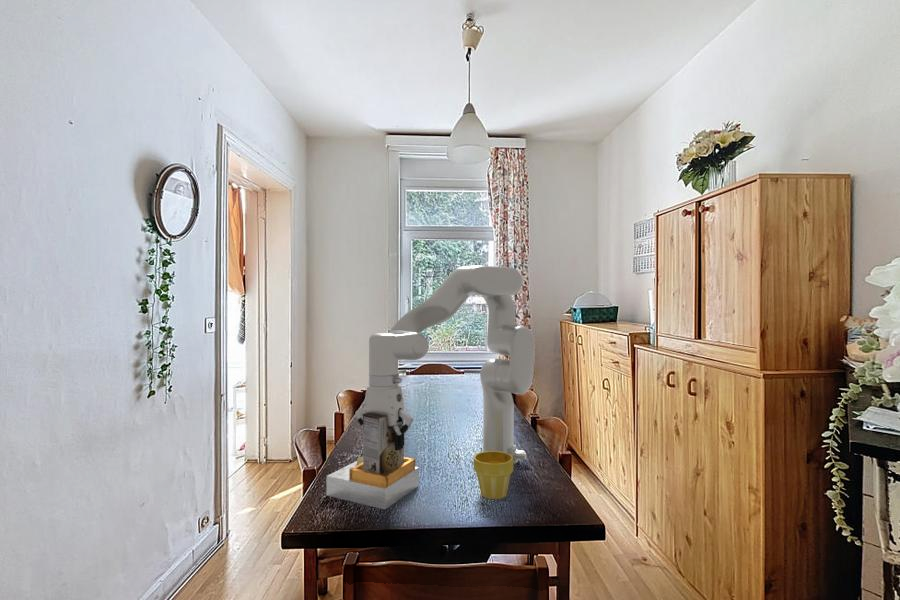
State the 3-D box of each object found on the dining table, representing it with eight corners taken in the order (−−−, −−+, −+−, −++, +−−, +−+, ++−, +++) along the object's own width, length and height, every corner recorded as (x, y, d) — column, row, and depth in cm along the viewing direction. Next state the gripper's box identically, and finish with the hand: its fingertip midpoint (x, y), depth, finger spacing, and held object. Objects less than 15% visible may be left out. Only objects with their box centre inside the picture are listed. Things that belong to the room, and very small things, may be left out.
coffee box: (387, 465, 129) (387, 406, 129) (404, 471, 125) (404, 410, 125) (361, 475, 122) (361, 413, 122) (379, 481, 118) (379, 417, 118)
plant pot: (465, 494, 123) (465, 456, 123) (491, 483, 130) (491, 447, 130) (495, 506, 116) (496, 466, 115) (521, 494, 123) (521, 456, 123)
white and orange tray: (418, 485, 128) (418, 458, 128) (385, 509, 114) (385, 478, 114) (364, 474, 136) (364, 448, 136) (326, 495, 122) (326, 466, 122)
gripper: (419, 381, 123) (419, 447, 123) (365, 376, 131) (365, 438, 131) (404, 386, 116) (404, 455, 116) (347, 380, 124) (347, 445, 124)
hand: (383, 446), depth 124 cm, fingers open, 9 cm apart
